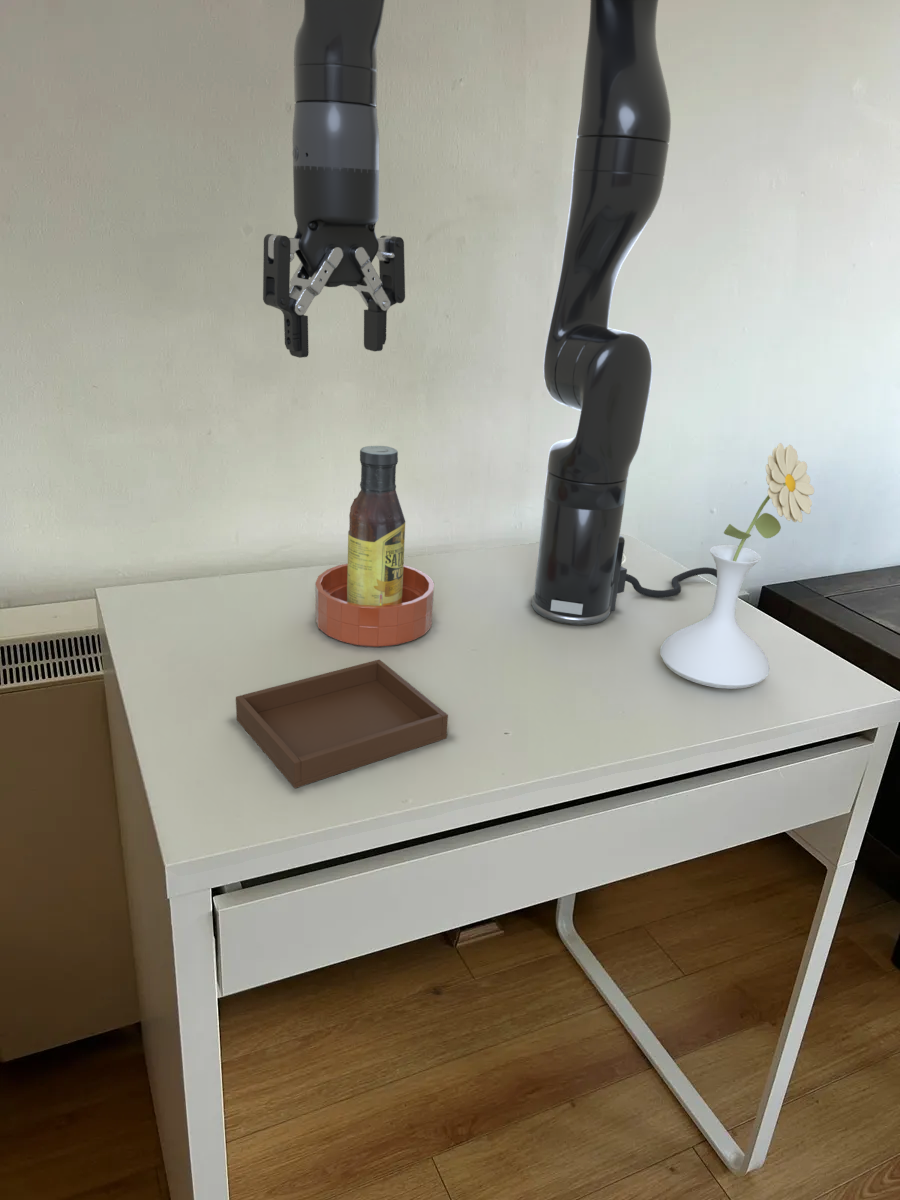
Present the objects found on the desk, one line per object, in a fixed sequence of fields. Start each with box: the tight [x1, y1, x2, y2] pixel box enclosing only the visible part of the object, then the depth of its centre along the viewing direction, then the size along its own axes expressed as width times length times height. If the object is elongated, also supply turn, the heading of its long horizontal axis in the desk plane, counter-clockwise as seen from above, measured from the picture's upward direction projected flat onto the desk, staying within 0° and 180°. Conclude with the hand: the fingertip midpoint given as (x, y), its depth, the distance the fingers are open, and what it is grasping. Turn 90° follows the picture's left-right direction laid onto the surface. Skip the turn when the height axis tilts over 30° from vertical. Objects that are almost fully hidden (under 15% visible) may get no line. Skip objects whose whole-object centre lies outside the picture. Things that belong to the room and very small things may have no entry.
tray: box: [235, 659, 449, 789], centre depth 82 cm, size 15×12×2 cm
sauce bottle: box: [347, 445, 406, 606], centre depth 99 cm, size 7×6×20 cm
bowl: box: [314, 562, 435, 648], centre depth 102 cm, size 13×13×5 cm
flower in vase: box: [659, 442, 815, 690], centre depth 92 cm, size 13×11×25 cm
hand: (337, 353), depth 86 cm, fingers open, 8 cm apart
